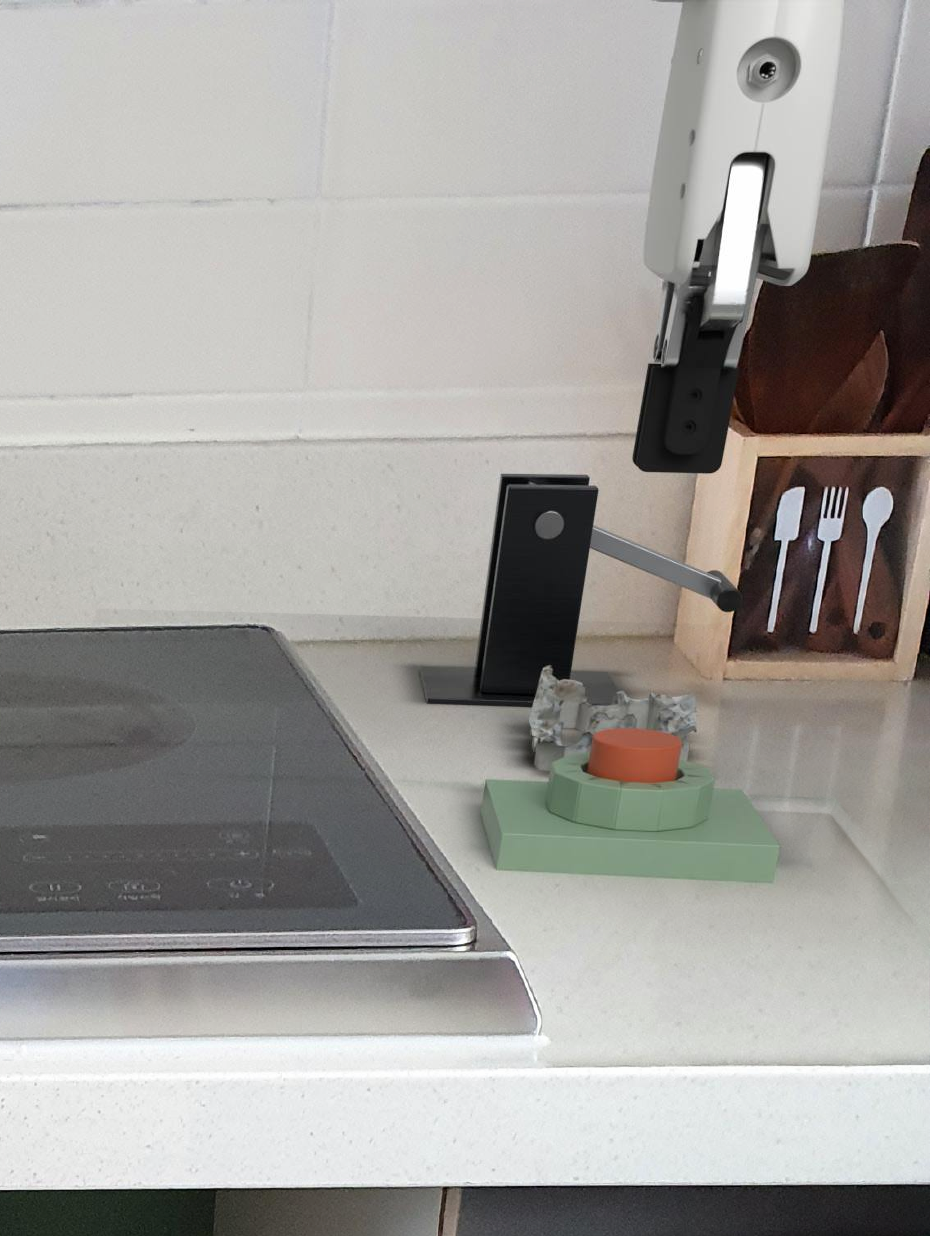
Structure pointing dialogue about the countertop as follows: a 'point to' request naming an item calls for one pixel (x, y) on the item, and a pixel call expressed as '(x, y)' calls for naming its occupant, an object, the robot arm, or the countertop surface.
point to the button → (634, 755)
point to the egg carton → (600, 717)
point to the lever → (667, 568)
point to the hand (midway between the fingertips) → (675, 469)
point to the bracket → (529, 597)
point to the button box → (627, 826)
